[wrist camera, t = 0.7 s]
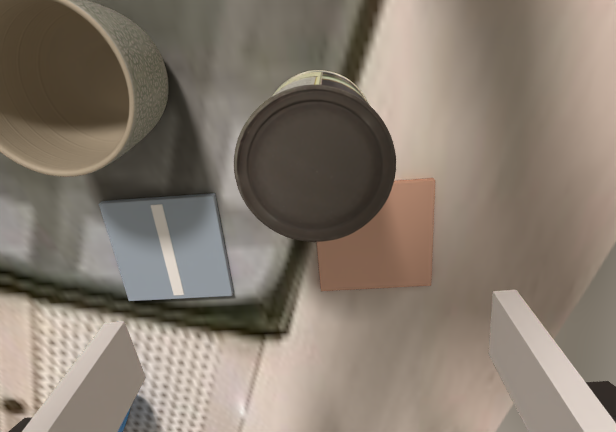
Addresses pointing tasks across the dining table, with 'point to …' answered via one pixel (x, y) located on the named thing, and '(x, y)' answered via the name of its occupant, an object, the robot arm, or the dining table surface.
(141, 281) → the pad
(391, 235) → the pad
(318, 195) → the coffee can
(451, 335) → the dining table surface
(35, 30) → the planter
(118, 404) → the robot arm
